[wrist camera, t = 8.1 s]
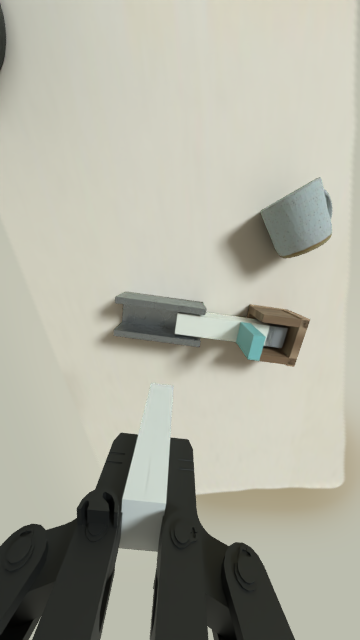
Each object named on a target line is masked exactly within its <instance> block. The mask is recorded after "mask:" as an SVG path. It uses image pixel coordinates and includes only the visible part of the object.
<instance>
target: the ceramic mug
mask: <svg viewBox="0 0 360 640" xmlns="http://www.w3.org/2000/svg"><path fill="white" fill-rule="evenodd" d="M261 216H262V218H263V220H264V223H265V225H266V228H267V230H268V233H269V235H270V237H271V240H272V242H273V245H274V247H275V249H276V251H277V253H278V254H279V256H280V257H283V258H291V257H295V256H299V255H302V254H304V253H307V252H309V251H312V250H314V249H316V248H318V247H319V246H321V245H323V244H324V243H325V242H327V241H328V240H329V238H330V237H331V235H332V224H331V217H332V203H331V199H330V196H329V194H328V193H327V191H326V190H325V189H323V184H322V180H321V178H320V177H319V178H316V179H315V180H313V181H311V182H310V183H308V184H306V185H304V186H303V187H301V188H299V189H297V190H296V191H294V192H292V193H290V194H289V195H287V196H285V197H283V198H282V199H280V200H278V201H276V202H275V203H273V204H271V205H269V206H268V207H266V208H264V209H263V210H261Z"/></svg>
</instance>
